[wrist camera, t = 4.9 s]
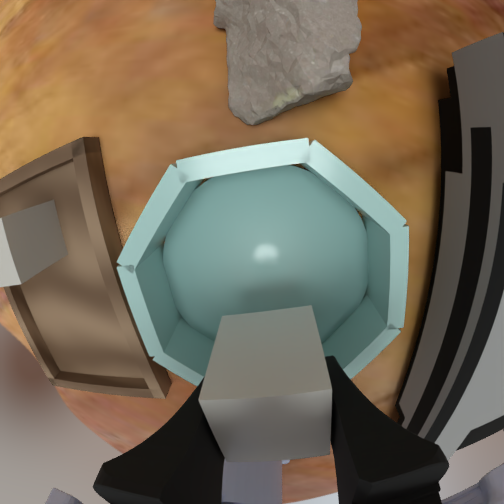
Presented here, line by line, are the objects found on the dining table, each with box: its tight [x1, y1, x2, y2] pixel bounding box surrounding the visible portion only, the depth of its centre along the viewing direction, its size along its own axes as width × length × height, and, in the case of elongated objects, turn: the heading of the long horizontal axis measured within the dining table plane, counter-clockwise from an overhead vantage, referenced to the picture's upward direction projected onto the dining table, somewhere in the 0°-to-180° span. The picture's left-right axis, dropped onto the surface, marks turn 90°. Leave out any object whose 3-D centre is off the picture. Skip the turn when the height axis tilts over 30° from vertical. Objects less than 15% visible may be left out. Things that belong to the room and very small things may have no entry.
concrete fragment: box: [214, 0, 362, 125], centre depth 10 cm, size 7×14×6 cm, turn 179°
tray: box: [0, 137, 172, 399], centre depth 18 cm, size 19×13×2 cm
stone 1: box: [0, 200, 68, 287], centre depth 15 cm, size 4×4×5 cm
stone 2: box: [198, 305, 332, 462], centre depth 11 cm, size 4×4×5 cm
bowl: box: [117, 138, 409, 386], centre depth 15 cm, size 14×14×4 cm
